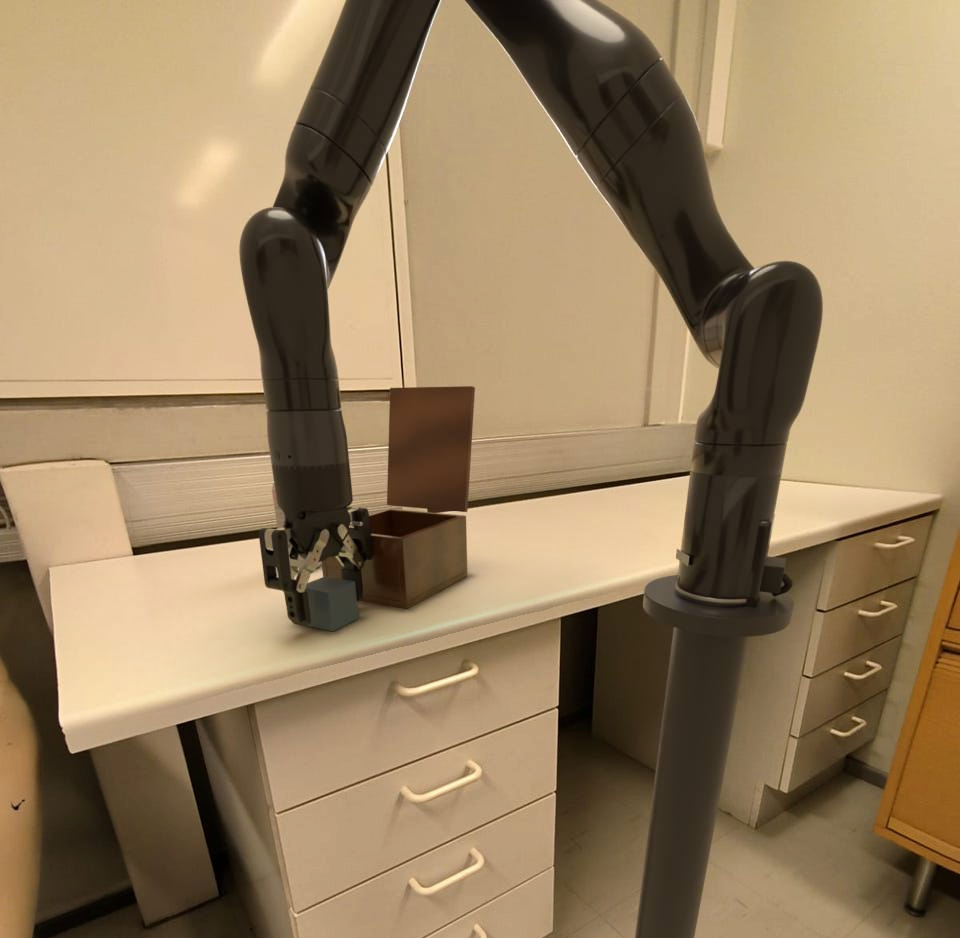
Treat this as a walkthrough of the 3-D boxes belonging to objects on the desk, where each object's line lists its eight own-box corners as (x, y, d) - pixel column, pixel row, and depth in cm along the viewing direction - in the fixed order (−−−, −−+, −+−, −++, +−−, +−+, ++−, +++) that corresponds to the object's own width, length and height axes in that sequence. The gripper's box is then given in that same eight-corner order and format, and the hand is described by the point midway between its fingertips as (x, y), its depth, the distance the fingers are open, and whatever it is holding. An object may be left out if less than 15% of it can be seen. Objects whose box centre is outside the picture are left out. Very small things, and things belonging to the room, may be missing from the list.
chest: (407, 608, 68) (402, 539, 65) (324, 594, 74) (316, 528, 71) (467, 575, 80) (466, 515, 77) (392, 565, 86) (388, 508, 82)
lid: (472, 386, 73) (475, 387, 73) (389, 387, 78) (393, 388, 79) (464, 512, 76) (467, 512, 77) (386, 505, 82) (390, 505, 83)
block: (359, 618, 66) (355, 581, 64) (332, 631, 62) (328, 592, 60) (329, 612, 68) (324, 576, 66) (302, 625, 64) (296, 587, 62)
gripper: (285, 468, 51) (309, 640, 57) (384, 453, 62) (394, 597, 69) (225, 464, 54) (254, 627, 60) (330, 451, 65) (344, 589, 72)
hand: (329, 611), depth 64 cm, fingers open, 8 cm apart
